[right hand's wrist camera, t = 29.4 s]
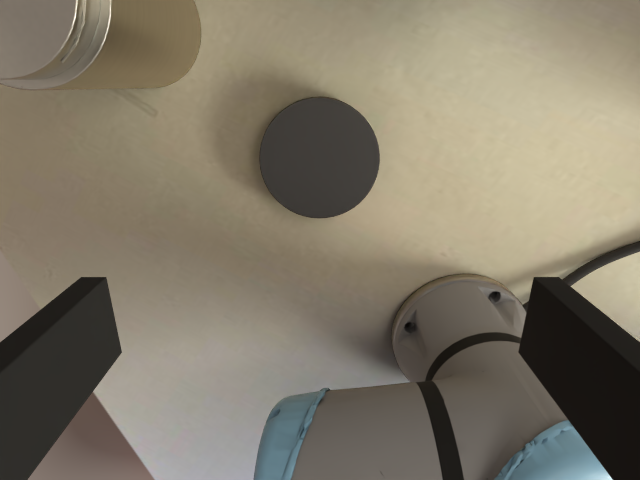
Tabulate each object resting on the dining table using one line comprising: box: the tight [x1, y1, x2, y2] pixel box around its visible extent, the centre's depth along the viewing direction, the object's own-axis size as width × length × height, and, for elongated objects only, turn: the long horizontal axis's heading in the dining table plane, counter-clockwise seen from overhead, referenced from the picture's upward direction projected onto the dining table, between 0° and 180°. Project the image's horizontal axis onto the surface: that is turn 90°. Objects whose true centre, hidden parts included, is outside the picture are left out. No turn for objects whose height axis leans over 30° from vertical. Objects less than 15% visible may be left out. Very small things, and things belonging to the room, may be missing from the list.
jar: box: [0, 0, 201, 90], centre depth 27 cm, size 10×10×19 cm
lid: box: [260, 97, 380, 218], centre depth 39 cm, size 11×11×2 cm
